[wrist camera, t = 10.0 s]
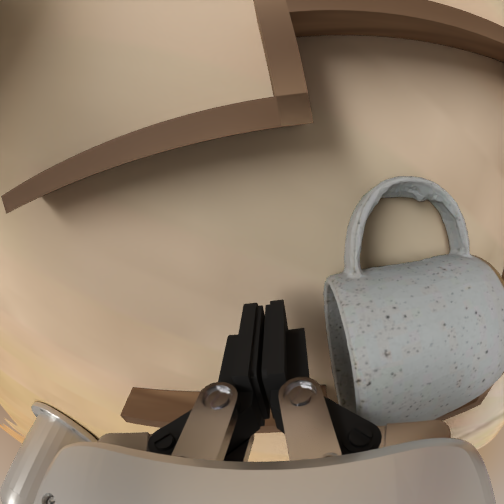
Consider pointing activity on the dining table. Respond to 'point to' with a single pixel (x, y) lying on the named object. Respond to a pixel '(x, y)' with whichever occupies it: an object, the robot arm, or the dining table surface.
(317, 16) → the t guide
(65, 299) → the dining table surface
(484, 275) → the ceramic mug
